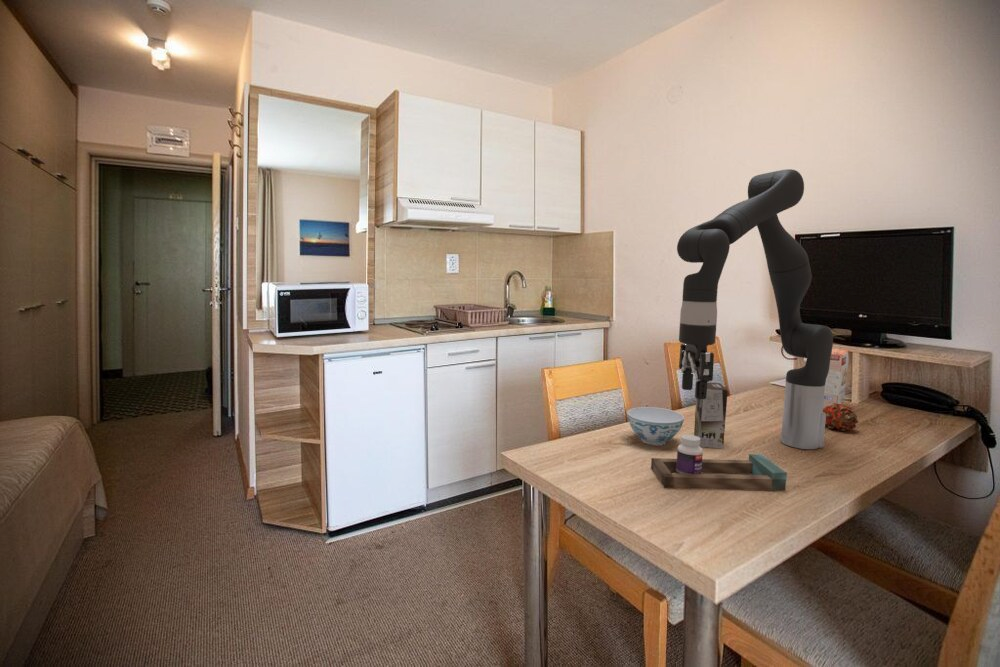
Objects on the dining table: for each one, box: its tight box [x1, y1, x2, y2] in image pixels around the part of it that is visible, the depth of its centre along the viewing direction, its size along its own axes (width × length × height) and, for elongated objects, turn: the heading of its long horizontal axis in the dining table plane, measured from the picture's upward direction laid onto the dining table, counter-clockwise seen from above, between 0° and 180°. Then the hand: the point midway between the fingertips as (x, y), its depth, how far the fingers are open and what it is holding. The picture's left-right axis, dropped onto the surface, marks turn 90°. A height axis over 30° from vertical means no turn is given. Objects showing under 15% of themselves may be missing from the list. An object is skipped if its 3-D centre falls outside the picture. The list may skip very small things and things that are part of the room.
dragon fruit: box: [823, 403, 860, 432], centre depth 153 cm, size 8×8×12 cm
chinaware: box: [626, 406, 685, 446], centre depth 140 cm, size 15×15×8 cm
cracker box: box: [823, 347, 850, 408], centre depth 172 cm, size 14×6×21 cm, turn 138°
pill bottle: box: [675, 434, 704, 474], centre depth 115 cm, size 5×5×10 cm
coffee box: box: [693, 382, 729, 449], centre depth 139 cm, size 9×6×16 cm
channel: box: [650, 453, 788, 491], centre depth 115 cm, size 26×11×4 cm, turn 89°
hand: (693, 393), depth 113 cm, fingers open, 8 cm apart
